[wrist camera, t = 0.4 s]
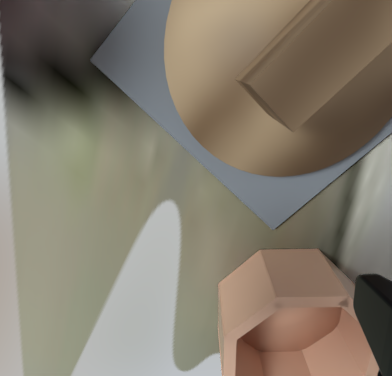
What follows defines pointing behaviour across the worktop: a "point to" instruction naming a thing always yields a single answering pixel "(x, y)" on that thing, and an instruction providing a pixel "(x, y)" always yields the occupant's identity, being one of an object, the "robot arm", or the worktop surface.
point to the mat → (172, 123)
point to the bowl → (290, 318)
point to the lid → (280, 79)
